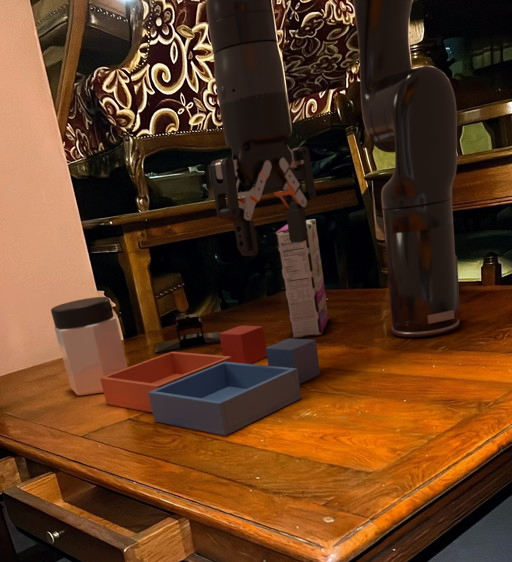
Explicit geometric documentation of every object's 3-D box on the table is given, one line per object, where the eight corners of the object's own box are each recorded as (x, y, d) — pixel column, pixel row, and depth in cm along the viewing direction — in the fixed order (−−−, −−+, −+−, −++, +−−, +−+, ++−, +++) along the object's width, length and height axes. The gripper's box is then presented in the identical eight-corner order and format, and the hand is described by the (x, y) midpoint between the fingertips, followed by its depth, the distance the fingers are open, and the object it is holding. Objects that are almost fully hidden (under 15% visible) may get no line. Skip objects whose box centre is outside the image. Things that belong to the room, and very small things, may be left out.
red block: (246, 355, 103) (241, 325, 101) (267, 356, 100) (262, 326, 98) (224, 363, 100) (218, 333, 99) (246, 365, 97) (240, 334, 96)
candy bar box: (300, 323, 118) (286, 223, 112) (329, 319, 117) (317, 218, 110) (290, 339, 108) (274, 230, 102) (322, 335, 107) (307, 225, 100)
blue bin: (229, 388, 88) (224, 361, 87) (301, 398, 80) (297, 368, 78) (154, 421, 80) (147, 392, 79) (225, 436, 72) (219, 403, 71)
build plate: (155, 355, 114) (149, 327, 112) (157, 345, 121) (151, 319, 119) (229, 340, 114) (224, 312, 112) (227, 332, 121) (222, 305, 119)
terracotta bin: (177, 376, 98) (172, 351, 97) (236, 383, 90) (231, 356, 88) (106, 404, 91) (99, 377, 89) (163, 414, 82) (157, 386, 81)
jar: (136, 384, 98) (117, 299, 93) (80, 399, 95) (57, 313, 90) (120, 373, 105) (101, 294, 101) (67, 387, 102) (45, 306, 98)
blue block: (294, 371, 90) (289, 338, 89) (320, 374, 87) (316, 339, 86) (270, 382, 88) (265, 347, 86) (297, 385, 84) (292, 349, 83)
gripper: (229, 92, 69) (256, 259, 75) (320, 85, 77) (337, 235, 83) (181, 106, 74) (210, 261, 80) (271, 99, 83) (291, 239, 89)
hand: (275, 248), depth 82 cm, fingers open, 8 cm apart
